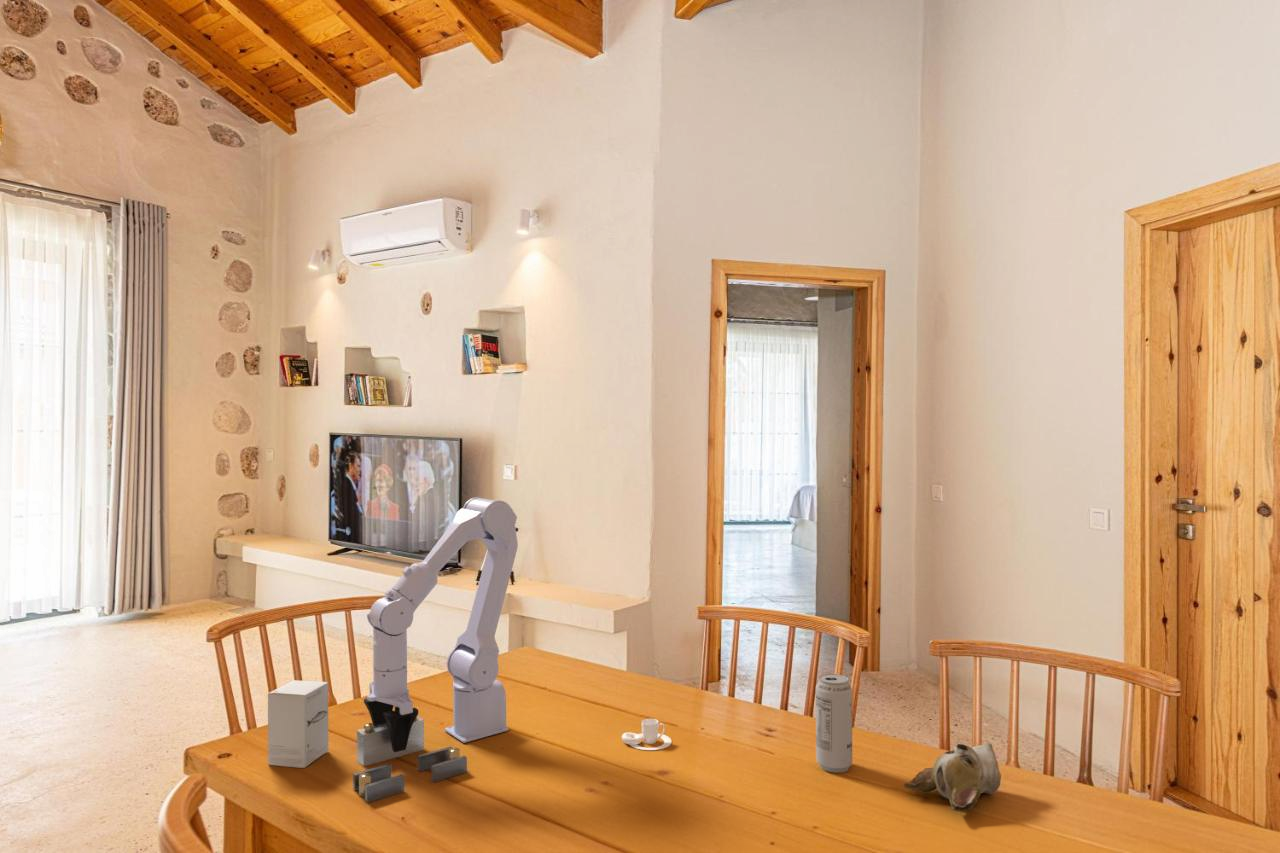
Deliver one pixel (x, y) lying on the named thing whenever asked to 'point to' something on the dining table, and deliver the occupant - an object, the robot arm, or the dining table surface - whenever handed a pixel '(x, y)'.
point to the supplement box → (297, 723)
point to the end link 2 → (443, 763)
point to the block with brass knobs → (386, 742)
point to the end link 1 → (377, 783)
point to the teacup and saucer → (647, 735)
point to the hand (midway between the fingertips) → (390, 743)
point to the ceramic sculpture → (961, 775)
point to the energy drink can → (834, 723)
